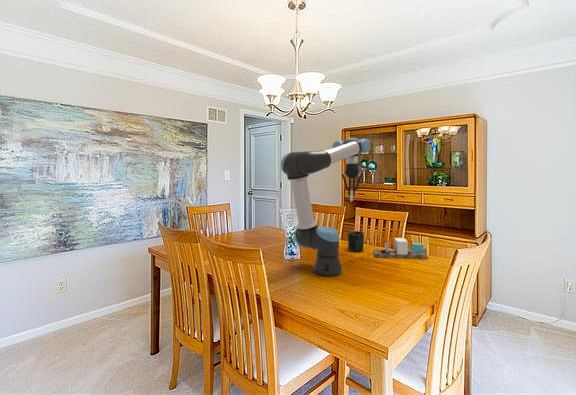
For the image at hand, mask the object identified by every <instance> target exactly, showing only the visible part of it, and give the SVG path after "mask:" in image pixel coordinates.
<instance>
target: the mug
mask: <svg viewBox="0 0 576 395" xmlns="http://www.w3.org/2000/svg"><path fill="white" fill-rule="evenodd" d="M347 235H348V237H347V241H348V242H347V248H348V251H349V252H354V253H362V252H363V251H364V245H365V244H364V243H365V242H364V240H365V238H364V237H365V232H363V231H357V230H352V231H348V232H347Z"/></svg>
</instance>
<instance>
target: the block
mask: <svg viewBox="0 0 576 395" xmlns="http://www.w3.org/2000/svg"><path fill="white" fill-rule="evenodd" d="M410 246H411V247H410V248H411V250H412V251H413V252H423V248H424V249H425V247H424V244H423V243H422V242H411V245H410Z"/></svg>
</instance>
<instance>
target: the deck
mask: <svg viewBox="0 0 576 395" xmlns="http://www.w3.org/2000/svg"><path fill="white" fill-rule="evenodd" d="M372 254H373V256H374V258H377V259H402V258H418V259H417V260H427V258H428V257H427V254H411V253H409V252H408V255H402V254H397V252H388V253H386V252H385V249H374V248H373V250H372Z"/></svg>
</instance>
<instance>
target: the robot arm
mask: <svg viewBox="0 0 576 395" xmlns="http://www.w3.org/2000/svg"><path fill="white" fill-rule="evenodd" d="M370 150H371V142H370V140H369V139H368V138H361V139H360V138H359V139H358V138H356V137H355V138H354V137H349V138H346V140H335V141H334V142H333V144H332V147H331V148H329V149H327V150H325V149H320V150H310V151H308V150H307V151H291V152H287V153H286V154H285V155H283V157H282V159H281V161H280V169H281V171H282V172H283V173H284V174H285V175H286V177H287V180H288V181H289V182H290V184H291V189H292V195H293V196H292V197H293V200H294V206H295V210H296V217H297V221H298V222H297V224H296V228H295V230H294V233H293V238H294V241H295V243H296V244H297V245H298V246H299V247H302V248H306V249H311V250H315V251H316V258H315V261H314V265H313V267H312V268H313V269H312V270H313V271H312V272H313V273H314V274H316V275H318V276H323V277H334V276H340V275H341V274H342V272H343V269H342V264H341V261H340V258H339V255H340V254H339V253H340V252H339V251H340V246H339V245H340V236H339V235H340V234H339V231H338V230H337V229H336V228H333V227H331V226H318V222H317V221H316V220H314V215H313V214H314V213H313V208H312V202H311V196H310V190H309V185H308V178H309V176H310V175H312V174H314V173H317V172H319V171H323V170H324V169H327V168H329V167H330V166H331V165H332V164H335V163H338V162H339V161H342V160H345V171H344V173H343V174H341V177H342V179H343V183H344V188H345V190H346V191H348V196H349V197H350V200H349V201H350V202H353V201H354V197H355V195H356V192H355V191H357V190H359V185H360V182H361V178H362V177H363V174H361V173H360V172H359V164H358V163H359V154H361V153H368V152H369V151H370ZM357 176H358V178H357ZM346 177H347V179H348V184H347V181H346ZM356 178H357V182H356ZM351 179H352V180H351ZM351 182H352V184H351ZM351 186H352V190H351Z"/></svg>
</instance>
